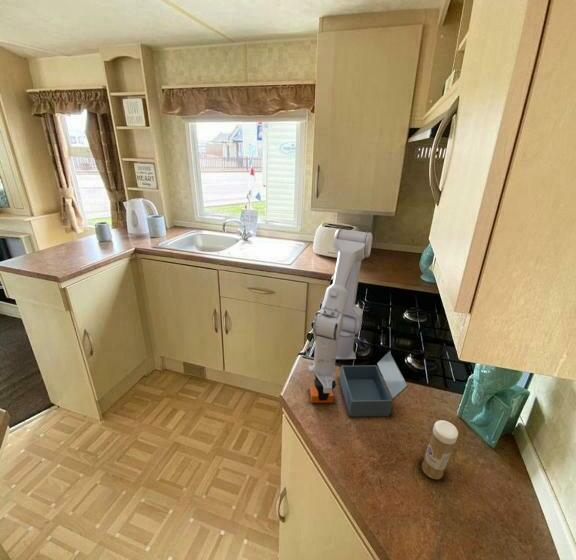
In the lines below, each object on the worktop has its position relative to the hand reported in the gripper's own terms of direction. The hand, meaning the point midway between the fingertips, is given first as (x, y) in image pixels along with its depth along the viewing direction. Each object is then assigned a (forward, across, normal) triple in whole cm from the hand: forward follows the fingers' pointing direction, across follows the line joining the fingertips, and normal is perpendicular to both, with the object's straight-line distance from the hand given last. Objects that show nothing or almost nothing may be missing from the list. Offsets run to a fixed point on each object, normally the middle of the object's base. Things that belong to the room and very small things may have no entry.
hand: (321, 393), depth 88 cm
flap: (-7, 0, +19) cm, 20 cm away
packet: (+1, 0, 0) cm, 1 cm away
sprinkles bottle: (+2, +22, +22) cm, 31 cm away
